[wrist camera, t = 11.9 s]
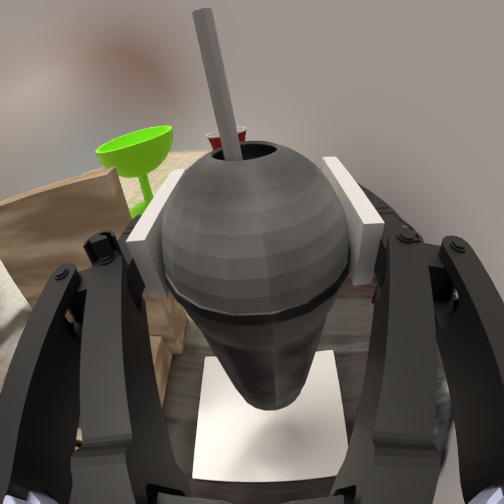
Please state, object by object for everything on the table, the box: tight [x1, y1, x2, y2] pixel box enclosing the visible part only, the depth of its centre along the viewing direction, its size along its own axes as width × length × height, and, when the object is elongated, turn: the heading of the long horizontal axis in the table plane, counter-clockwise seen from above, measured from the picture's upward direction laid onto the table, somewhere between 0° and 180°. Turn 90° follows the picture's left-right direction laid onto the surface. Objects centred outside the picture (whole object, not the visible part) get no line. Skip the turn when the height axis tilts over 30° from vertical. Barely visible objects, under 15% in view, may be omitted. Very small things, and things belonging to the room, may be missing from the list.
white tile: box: [192, 350, 348, 482], centre depth 23 cm, size 14×14×1 cm
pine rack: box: [0, 167, 188, 408], centre depth 19 cm, size 24×20×22 cm
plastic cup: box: [206, 127, 247, 150], centre depth 70 cm, size 11×11×12 cm
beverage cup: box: [161, 8, 351, 411], centre depth 12 cm, size 7×7×20 cm
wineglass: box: [96, 126, 173, 219], centre depth 53 cm, size 16×16×18 cm
